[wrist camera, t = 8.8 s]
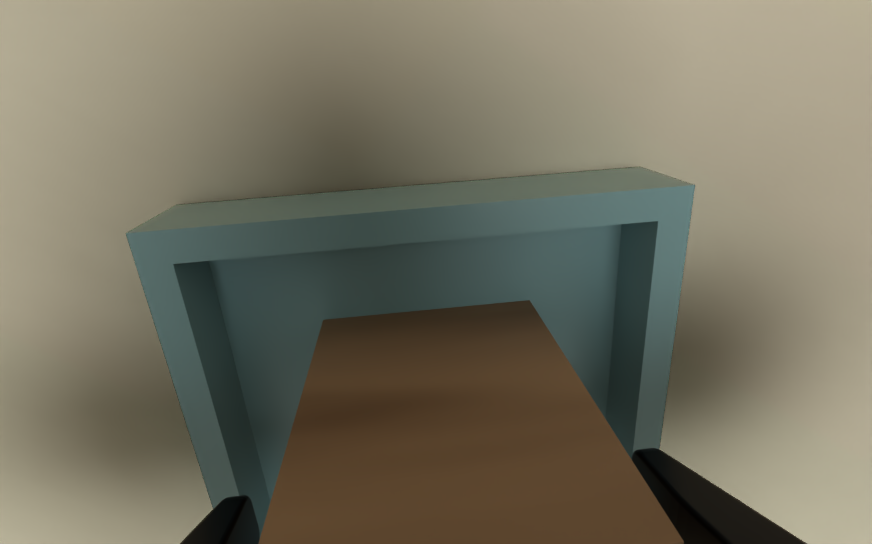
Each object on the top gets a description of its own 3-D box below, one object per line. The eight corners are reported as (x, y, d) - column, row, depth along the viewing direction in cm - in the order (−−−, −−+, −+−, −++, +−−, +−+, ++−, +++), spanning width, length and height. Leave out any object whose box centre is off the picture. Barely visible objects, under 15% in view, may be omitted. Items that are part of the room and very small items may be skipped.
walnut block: (527, 460, 12) (642, 774, 7) (350, 480, 12) (314, 827, 6) (529, 300, 11) (683, 541, 5) (323, 319, 10) (241, 597, 5)
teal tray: (640, 166, 10) (694, 185, 8) (609, 505, 14) (642, 570, 12) (176, 204, 10) (126, 233, 8) (268, 546, 13) (249, 621, 11)
